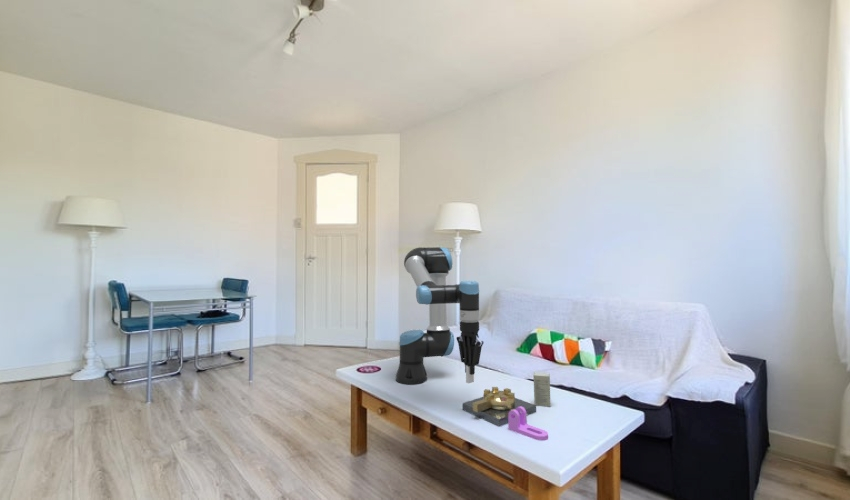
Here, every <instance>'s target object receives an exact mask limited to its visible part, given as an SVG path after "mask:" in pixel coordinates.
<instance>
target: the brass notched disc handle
mask: <svg viewBox="0 0 850 500" xmlns="http://www.w3.org/2000/svg"><path fill="white" fill-rule="evenodd" d="M515 394H516V393H515V392H512V389H511V388H507V387H506V388H503V390H499V388H498V386H492V387H491V390H490V389H488V388H485V389H484V390H483V396H482V397H483V400H480V401H477V402H473V411H475V412H480V411H483V410H486V409H489V408H493V409H499V410H505V409H511V408H513V407H514V406H515V398H516V395H515Z"/></svg>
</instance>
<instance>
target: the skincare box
mask: <svg viewBox="0 0 850 500" xmlns="http://www.w3.org/2000/svg"><path fill="white" fill-rule="evenodd" d="M532 375H533V400H534V405H536V406H539V407H540V406H541V407H551V404H552V403H551V384H550V383H551V382H550V381H551V379H550V377H551V376H550V373H549V372H536V371H535V372H533V374H532Z"/></svg>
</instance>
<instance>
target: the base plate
mask: <svg viewBox="0 0 850 500" xmlns="http://www.w3.org/2000/svg"><path fill="white" fill-rule="evenodd" d="M480 400H483V396H480V397H478V398H474V399H472V400H468V401H465V402H462V410H463V411H465V412H467V413H469V414H471V415H473V416H476V417H478V418H480V419H482V420H484V421H486V422H489V423H491V424H492V425H495V426H498V427H502V426H504V425H506V424H507V425H508V414H509V412H510V411H511V410H516V408H518V407H520V406H522V407H524V408H525V410H526V414H527V416H529V415H533V414H536V413H537V405H534V404H533V403H529V402H528V401H525V400H522V399H519V398H516V397H515V406H514V407H513V408H511V409H505V410H499V409H493V408H489V409H486V410H483V411H480V412H475V411H473V402H477V401H480ZM520 413H521V411H520ZM514 417H515V416H514Z"/></svg>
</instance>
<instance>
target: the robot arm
mask: <svg viewBox="0 0 850 500" xmlns="http://www.w3.org/2000/svg"><path fill="white" fill-rule="evenodd" d="M403 264H404V265H403V266H404V268H405V271H406V272H407V273H408V274H410V275H411V278H412V280H413V281H414V284H415V286H416V290H415V297H416V301H417V303H418V304H419V305H426V306H427V305H428V306H429V308H428V309H429V311H428V312H429V313H428V314H429V315H428V316H429V317H428V318H429V326H428V327H427V328H426V332H424V330H422V329H412V330H408V331H404V332H402V333H401V334H400V335H399V342H398V345H399V364H398V367H397V371H396V374H395V381H396V382H397V383H400V384H402V385H403V384H404V385H419V384H423V383H425V382H427V379H428V374H427V371H426V367H425V364H424V358H433V357H446V356H447V357H448V356H450V355H451V354H452V353H453V351H454V349H455V348H454V347H455V336H454V333H453V332H452V331H451V328H450V327H449V326H448V324H447V323H448V322H447V319H448V318H447V304H459V320H460V321H459V331H460V335H459V336H456V342H457V343H458V344H457V345H458V350H459V356H460V362H461V363H463V364H464V373H465V383H467V384H472V383H474V381H475V373H476V372H475V369H476V368H475V367H476V366H479V363H480V359H481V353H482V348H483V345H484V341H483V340H481V339H480V336H479V331H480V322H479V321H480V287H479V285H480V284H479V282H478V281H476V280H463V281H460V282H459V283H458V284H448V285H447V281H446V279H447V276H448V275H449V274H450V273H449V271H451V270H452V269H453V257H452V253H451V251H450V250H449V249H448V248H447V247H440V246H439V247H422V246H419V247H415V248H413V249H411V250H410V251H409V252H407V254H406V255H405V257H404V261H403Z"/></svg>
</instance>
